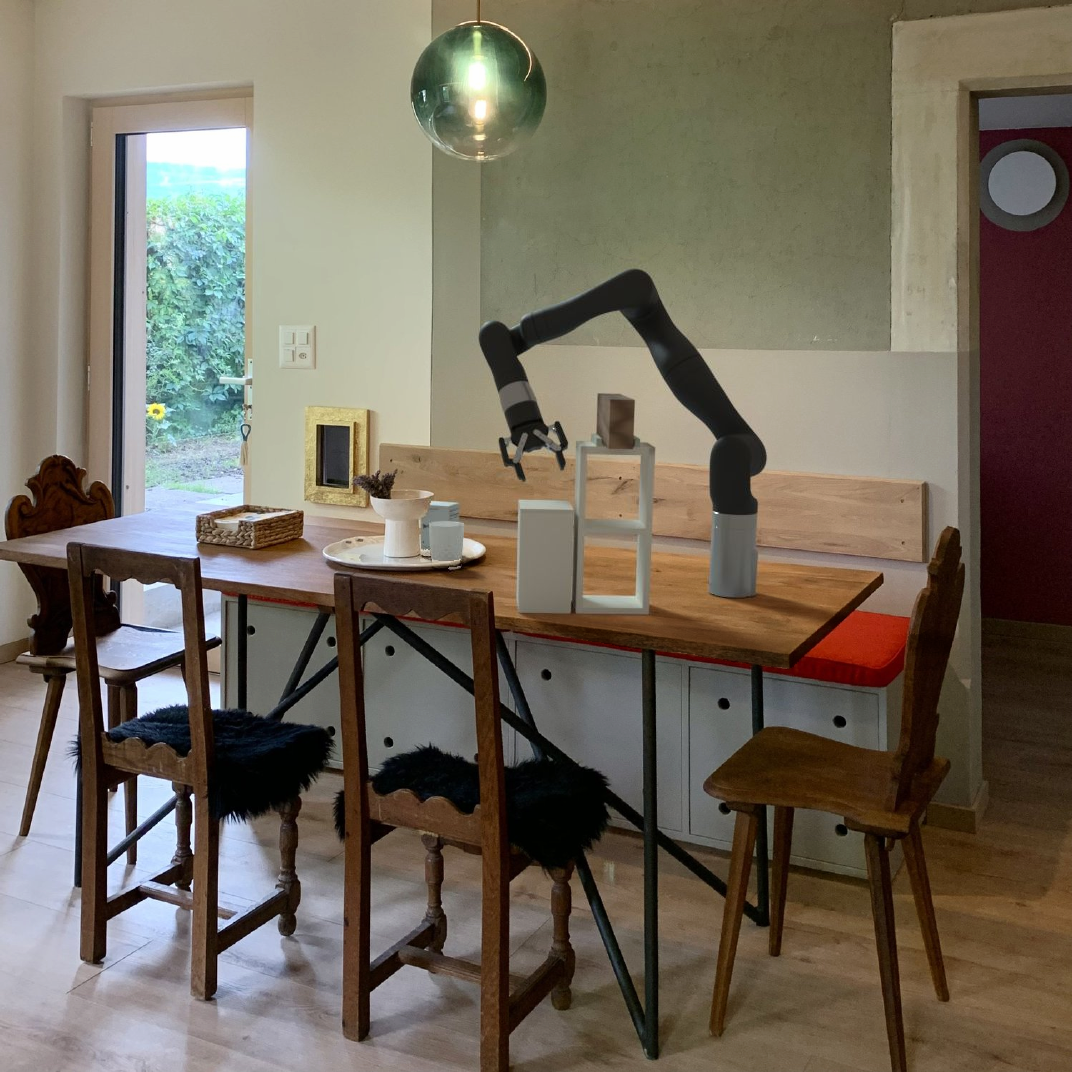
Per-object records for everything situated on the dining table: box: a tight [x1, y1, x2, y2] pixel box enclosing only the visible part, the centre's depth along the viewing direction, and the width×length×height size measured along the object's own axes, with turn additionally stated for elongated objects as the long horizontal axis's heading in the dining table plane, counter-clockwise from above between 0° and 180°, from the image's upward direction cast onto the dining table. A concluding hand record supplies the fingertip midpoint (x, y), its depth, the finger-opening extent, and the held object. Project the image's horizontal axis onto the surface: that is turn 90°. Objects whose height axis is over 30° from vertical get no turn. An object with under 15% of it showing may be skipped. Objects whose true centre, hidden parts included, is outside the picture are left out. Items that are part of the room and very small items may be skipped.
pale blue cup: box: [429, 521, 465, 571], centre depth 270 cm, size 8×8×10 cm
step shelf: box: [516, 433, 656, 615], centre depth 232 cm, size 25×13×34 cm, turn 93°
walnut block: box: [595, 392, 636, 449], centre depth 230 cm, size 4×24×9 cm, turn 3°
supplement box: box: [420, 500, 461, 550], centre depth 285 cm, size 7×7×13 cm
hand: (543, 475), depth 252 cm, fingers open, 8 cm apart
